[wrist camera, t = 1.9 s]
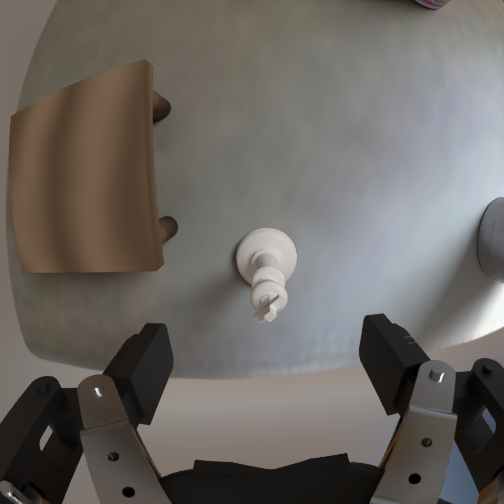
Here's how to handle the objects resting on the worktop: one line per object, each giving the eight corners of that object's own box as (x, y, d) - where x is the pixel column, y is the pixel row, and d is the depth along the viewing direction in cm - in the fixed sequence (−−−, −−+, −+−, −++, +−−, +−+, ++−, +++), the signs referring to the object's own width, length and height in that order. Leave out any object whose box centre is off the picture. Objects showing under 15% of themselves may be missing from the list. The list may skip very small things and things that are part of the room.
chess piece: (308, 258, 22) (340, 316, 13) (264, 296, 23) (266, 372, 14) (267, 215, 22) (273, 244, 12) (223, 256, 23) (197, 313, 13)
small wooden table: (177, 90, 19) (145, 59, 12) (186, 243, 22) (156, 271, 16) (59, 123, 20) (10, 116, 13) (68, 250, 23) (22, 272, 16)
